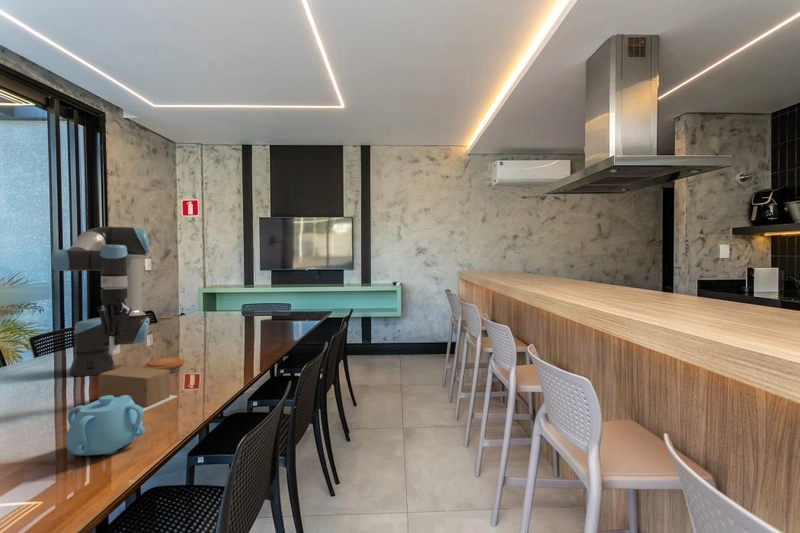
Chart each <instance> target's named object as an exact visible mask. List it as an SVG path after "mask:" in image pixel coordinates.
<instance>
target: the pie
mask: <svg viewBox="0 0 800 533" xmlns="http://www.w3.org/2000/svg"><path fill="white" fill-rule="evenodd" d="M185 362H186V360H185V359H183V358H180V357H176V356H175V357H164V358H163V357H162V358H156V359H152V360H151V361H149V362H148V363H145V364H144V365H143V368H153V369H165V370H170V374H173V372H174V373H176V371H177V372H178V371H180V370H181V368H182V367H183V365H184V363H185Z"/></svg>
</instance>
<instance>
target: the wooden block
mask: <svg viewBox="0 0 800 533" xmlns="http://www.w3.org/2000/svg"><path fill="white" fill-rule="evenodd" d="M107 395H112V396H114V397H120V396H123V395H128V396H130V397H131V398H132V400H133V401H134V403H135V404H136V405H139V406H142V407H148V406H150V405H152V404H155V403H157V402H159V401H161V400H163V399H166V398H168V397H170V395H171V373H170V370H165V369H153V368H144V367H137V366H127V365H124V366H121V367H117V368H114V369H112V370H110V371H107V372H104V373H100V374H98V399H99V398H100V397H103V396H107Z"/></svg>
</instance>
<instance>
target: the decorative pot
mask: <svg viewBox="0 0 800 533" xmlns="http://www.w3.org/2000/svg"><path fill="white" fill-rule="evenodd" d="M76 411H77V413H75V412H76ZM143 417H144V412H143V409H142V407H140V406H139V405H136V404H135V403H134V401H133V400H132V398H131V397H130V396H128V395H123V396H120V397H114V396H112V395H107V396H103V397H100V398H99V397H98V399H97V400H94V401H93V402H92V401H91V402H90V403H88V404H86V405H82V404H81V405H77V406H75V407H73V408H71V409H70V410H68V413H67V421H68V424H69V428H68V430H67V431H66V432H65V433H66V440H65V447H66V449H67V451H68V452H70V453H71V454H72V455H74V456H98V455H99V456H100V455H105V456H108V455H113V454H115V453H117V452H118V450H120V449H121V448H124V447H126V446H127V445H128V444H130V443H131V442H133V441H134V440H135V438H138V437H141V436H143V435H144V433H145V431H146V430H145V427H144V426H143Z"/></svg>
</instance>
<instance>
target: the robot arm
mask: <svg viewBox="0 0 800 533" xmlns="http://www.w3.org/2000/svg"><path fill="white" fill-rule="evenodd" d="M148 253H150V244H149V238H148V233H147V231H146V229H145V228H142V227H133V226H132V227H131V226H130V227H129V226H128V227H126V226H109V225H108V226H99V227H94V228H91V229H88V230H86V231H84V232H82V233H81V234H79V235H78V236H77V238H76V242H74V243H73V244H72V245H71V246H70V247H69V248H68V249H64V248H63V249H55V250H53V251H52V253H51V258H50V259H51V266H52V268H53V270H54V271H60V272H61V271H63V272H64V271H65V272H71V271H72V272H74V271H75V272H76V271H78V272H79V271H80V272H81V271H82V272H83V271H90V272H93V271H100V287H101V288H102V289H100V299H101V300H103V302H102V305H101V306H98V307H97V312H98V314H99V317H94V318H93V317H92V318H88V319H84V320H80V321H78V322H76V324H74V333H73V334H74V358H73V360H72V363H71V366H70V368H69V375H70V376H74V377H87V376H95V375H99V374H101V373H104V372H107V371H111V370H114V369H115V361H114V360H113V357H112V355H113V356H114V355H118V354H121V346H123V345H124V346H125V345H136V344H142V343H144V342H146V340H147V337H148V333H149V328H150V317H148V316H147V314H146V312H144V311H143V265H142V264H143V259H145V258H146V257H147V255H146V254H148ZM146 316H147V317H146Z"/></svg>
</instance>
